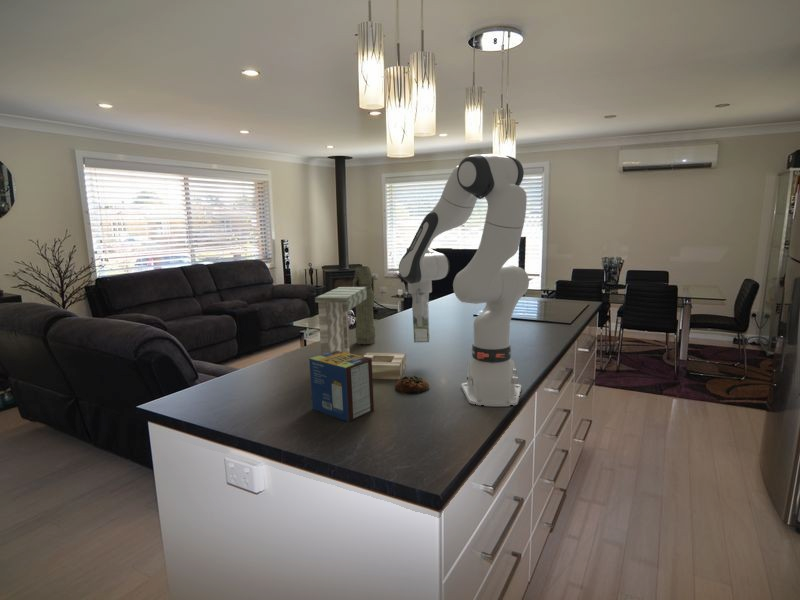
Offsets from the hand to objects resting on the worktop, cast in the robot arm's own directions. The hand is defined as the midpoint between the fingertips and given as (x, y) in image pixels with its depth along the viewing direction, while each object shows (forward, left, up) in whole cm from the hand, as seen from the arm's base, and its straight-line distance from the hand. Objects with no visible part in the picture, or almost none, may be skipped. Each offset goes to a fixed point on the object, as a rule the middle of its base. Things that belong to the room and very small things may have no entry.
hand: (421, 324), depth 168 cm
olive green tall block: (+32, +29, -16) cm, 47 cm away
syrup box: (0, 0, -7) cm, 7 cm away
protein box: (-45, +18, -16) cm, 51 cm away
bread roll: (-25, +1, -16) cm, 30 cm away
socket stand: (-10, +19, -16) cm, 27 cm away
